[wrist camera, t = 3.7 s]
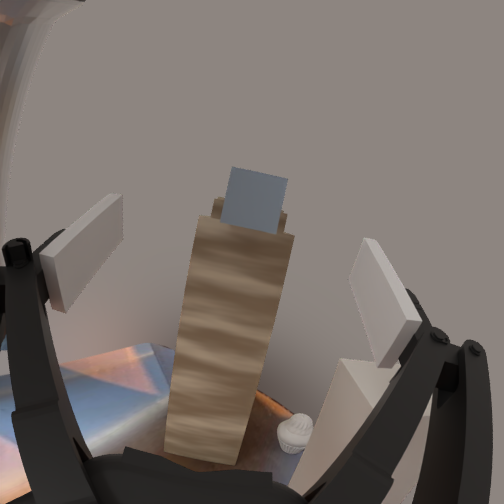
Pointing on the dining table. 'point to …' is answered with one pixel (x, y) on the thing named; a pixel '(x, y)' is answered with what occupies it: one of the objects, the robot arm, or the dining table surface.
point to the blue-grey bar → (253, 200)
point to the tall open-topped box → (223, 335)
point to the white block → (356, 428)
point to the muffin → (295, 433)
